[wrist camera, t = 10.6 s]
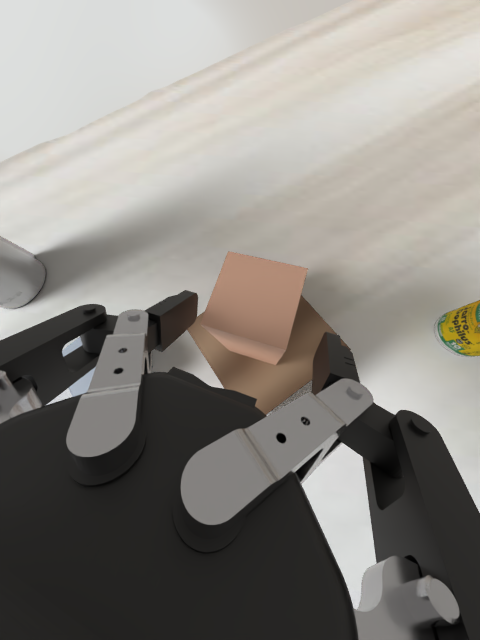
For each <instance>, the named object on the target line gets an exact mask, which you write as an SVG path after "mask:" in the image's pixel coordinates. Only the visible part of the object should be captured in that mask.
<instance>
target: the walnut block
mask: <svg viewBox="0 0 480 640" xmlns="http://www.w3.org/2000/svg"><path fill="white" fill-rule="evenodd" d="M204 313H205V312H203V313H202V314H200V315H199V316H198V317H196V320H195V322H194V324H192V325H191V326H190V327H189V328H188V329H187V330H188V331H189V333H190V335H191V336H192V338H193V339H194V341H195V343H196V344H197V346H198V347H199V349H200V350H201V352H202V354H203V355H204V357H205V358H206V360H207V361H208V363H209V365H210V366H211V368H212V369H213V371H214V373H215V374H216V376H217V377H218V379H219V380H220V382H221V384H222V385H223V387H224V388H225V389H228V390H234V391H237V392H240V393H243V394H245V395H248V396H251V397H253V398H256V399H257V401H256V405H255V406H256V407H257V408H258V409H260V410H261V411H262V412H263V413H264V414H265V415H266V414H267V413H269V412H270V411H271V410H273V409H274V408H275V407H276V406H278V405H279V404H280V403H282V402H283V401H284V400H286V399H287V398H288V397H290V396H291V395H292V394H293V393H295V392H296V391H297V390H299V389H300V388H301V387H303V386H304V385H305V384H307V383H308V382H309V381H311V380H312V373H313V359H314V355H315V352H316V350H317V348H318V346H319V343H320V341H321V339H322V337H323V334H324V333H325V332H329V333H333V334H336V333H335V332H334V331H333V329H332V328H331V327H330V326H329V325H328V324H327V323H326V322H325V321H324V320H323V319H322V317H321V316H320V315H319V314H318V313H317V312H316V311H315V310H314V309H313V308H312V306H311V305H310V304H309V303H308V302H307V301H306V300H305V299H304V298H303V297H302V295H301V296H300V300H299V304H298V307H297V311H296V315H295V319H294V323H293V326H292V330H291V334H290V338H289V341H288V345H287V349H286V351H285V352H284V354H283V355H282V357H281V358H280V360H279V361H278V363H277V364H276V365H273V364H270V363H267V362H263V361H260V360H257V359H254V358H251V357H248V356H245V355H241V354H238V353H235V352H232V351H229V350H228V349H227V348H226V347H225V346H224V345H223V344H221V343H220V342H219V341H218V340H217V339H216V338H215V337H214V336H213V335H211V334H210V333H209V332H208V331H207V330H206V329H205V328H204V327H203V326H201V325H200V323H201V321H202V318H203V315H204ZM336 335H337V334H336ZM340 339H341V338H340ZM341 345H343V346H346V347H348V346H347V345H346V344H345V343H344V342H343V340H342V339H341ZM348 349H349V350H351V349H350V348H349V347H348Z"/></svg>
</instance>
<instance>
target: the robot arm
mask: <svg viewBox="0 0 480 640" xmlns="http://www.w3.org/2000/svg"><path fill="white" fill-rule="evenodd" d="M45 275H46V272H45V268H44V266H43V264H42V263H41V262H40V261H38V260H36V259H35V257H34V254H32V253H30V252H28V251H27V250H25V249H23V248H21V247H19V246H18V245H16V244H14V243H12V242H10V241H8V240H7V239H5V238H3V237H1V236H0V307H2V308H6V309H13V308H18V307H20V306H23V305H25V304H26V303H28V302H29V301H30V300H32V299H33V298H34V297H35V296H36V295H37V294H38V292H39V291H40V289H41V288H42V286H43V284H44V281H45ZM197 305H198V295H197V293H194V292H190V291H187V290H185V291H183V292H181V293H180V294H178V295H175V296H171V297H168V298H166V299H164V300H163V301H161V302H159V303H158V304H156V305H154V306H152V307H150V308H149V309H147V310H145V311H143V310H128V311H125V312H122V313H121V314H120V315H119V316H114V315H107V314H106V309H105V307H104V306H102V305H98V304H88V305H83V306H79V307H77V308H75V309H72V310H70V311H68V312H65V313H63V314H61V315H58V316H56V317H54V318H51V319H49V320H47V321H45V322H42V323H40V324H38V325H35V326H33V327H31V328H28V329H26V330H24V331H21V332H19V333H17V334H15V335H12V336H10V337H8V338H5V339H3V340H1V341H0V640H480V513H479V511H478V509H477V507H476V505H475V503H474V501H473V499H472V497H471V495H470V493H469V491H468V489H467V487H466V485H465V483H464V481H463V479H462V477H461V475H460V473H459V471H458V469H457V467H456V465H455V463H454V461H453V459H452V457H451V455H450V453H449V451H448V449H447V447H446V445H445V443H444V441H443V439H442V437H441V435H440V434H439V432H438V431H437V429H436V428H435V427H434V426H433V425H432V424H431V423H430V422H428V421H427V420H426V419H424V418H423V417H421V416H420V415H418V414H416V413H414V412H411V411H407V410H400V411H398V412H397V414H396V415H394V414H392V413H390V412H388V411H387V410H385V409H383V408H381V407H380V406H378V405H376V404H375V403H374V402H373V396H372V394H371V393H370V391H369V390H368V389H367V388H366V387H365V386H363V385H362V384H360V381H359V377H358V373H357V369H356V367H355V366H356V365H355V361H354V358H353V354H352V352H351V351H350V350H349V349H348V347H346V346H343V345H341V339H340V336H339V335H336V334H333V333H329V332H325V333H324V334H323V337H322V339H321V341H320V343H319V346H318V348H317V350H316V352H315V355H314V359H313V373H312V392H308V393H306V394H304V395H302V396H301V397H299V398H297V399H296V400H294V401H292V402H291V403H289V404H287V405H285V406H284V407H282V408H280V409H279V410H277V411H275V412H274V413H272V414H270V415H269V416H266V415H265V414H264V413H263V412H262V411H261V410H260V409H258V408H257V407H256V406H255V405H256V401H257V399H256V398H253V397H251V396H248V395H245V394H243V393H240V392H237V391H234V390H228V389H222V388H215V387H211V386H209V385H207V384H206V383H204V382H203V381H202V380H200V379H199V378H197V377H196V376H194V375H193V374H190V373H188V372H185V371H183V370H180V369H177V368H175V367H173V368H172V369H171V370H170V371H169V372H168V373H166V372H154V373H151V363H152V352H151V351H152V350H153V349H155V350H158V351H161V352H163V351H164V350H165V349H166V348H167V347H168V346H169V345H170V344H171V343H173V342H174V341H175V340H176V339H177V338H178V337H179V336H180V335H181V334H183V333H184V332H185V331H186V330H187V329H188V328H189V327H190V326H191V325H192V324H194V322H195V320H196V317H197ZM78 336H80V338H81V342H82V346H80V347H79V348H77V349H75V350H74V351H72V352H71V353H69V354H67V355H66V356H64V357H63V354H62V349H63V347H64V345H65V344H66V343H68V342H70V341H71V340H73V339H75V338H77V337H78ZM95 367H96V368H95ZM94 368H95V371H94V374H93V377H92V380H91V383H90V386H89V388H88V391H87V392H86V393H84V394H81V395H77V396H74V397H71V398H68V399H65V400H62V401H59V402H55V403H52V404H49V405H46V404H48V403H49V402H50V401H52V400H53V399H54V398H55V397H57V396H58V395H59V394H61V393H62V392H63V391H65V390H66V389H67V388H69V387H70V386H71V385H73V384H74V383H75V382H76V381H78V380H79V379H80V378H82V377H83V376H84V375H86V374H87V373H88V372H90V371H91V370H92V369H94ZM45 405H46V406H45ZM342 443H344V444H345V445H347V446H348V447H350V448H351V449H352V450H354V451H355V452H357V453H358V454H360V455H361V456H362V457H363V463H364V471H365V478H366V486H367V493H368V501H369V509H370V516H371V524H372V531H373V539H374V547H375V554H376V562H377V564H375V565H373V566H371V567H369V568H368V569H366V571H365V572H364V575H363V577H362V586H361V600H360V604H359V607H358V609H357V610H356V609H354V608H353V605H352V601H351V598H350V594H349V591H348V588H347V585H346V583H345V580H344V577H343V575H342V573H341V570H340V568H339V566H338V564H337V562H336V559H335V557H334V555H333V553H332V551H331V549H330V546H329V544H328V542H327V540H326V538H325V535H324V533H323V531H322V529H321V527H320V524H319V522H318V520H317V518H316V516H315V513H314V511H313V509H312V507H311V505H310V503H309V500H308V498H307V496H306V494H305V492H304V489H303V487H302V485H301V484H302V483H303V482H304V481H305V480H306V479H307V478H308V477H309V476H310V475H311V474H312V472H313V471H314V470H315V469H316V468H317V467H318V466H319V465H320V464H321V463H322V462H323V461H324V460H325V459H326V458H327V457H328V456H329V455H330V454H331V453H333V452H334V451H335V450H336V449H337V448H338V447H339V446H340V445H341V444H342Z"/></svg>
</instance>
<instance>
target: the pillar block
mask: <svg viewBox="0 0 480 640" xmlns="http://www.w3.org/2000/svg"><path fill="white" fill-rule="evenodd" d="M307 270H308V268H303V267H299V266H294V265H289V264H285V263H280V262H276V261H271V260H266V259H262V258H257V257H252V256H248V255H243V254H238V253H234V252H229V251H228V253H227V256H226V259H225V261H224V264H223V266H222V269H221V271H220V274H219V277H218V279H217V282H216V284H215V287H214V290H213V292H212V295H211V297H210V300H209V302H208V305H207V308H206V310H205V313H204V315H203V318H202V321H201V323H200V325H201V326H203V327H204V328H205V329H206V330H207V331H208V332H209V333H210V334H211V335H213V336H214V337H215V338H216V339H217V340H218V341H219V342H220V343H221V344H223V345H224V346H225V347H226V348H227V349H228V350H229V351H232V352H235V353H238V354H241V355H245V356H248V357H251V358H254V359H257V360H260V361H263V362H267V363H270V364H273V365H276V364H277V363H278V361H279V360H280V358H281V357H282V355H283V354H284V352H285V351H286V349H287V345H288V341H289V338H290V334H291V330H292V326H293V323H294V319H295V315H296V311H297V307H298V304H299V300H300V296H301V292H302V289H303V285H304V281H305V277H306V274H307Z"/></svg>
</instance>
